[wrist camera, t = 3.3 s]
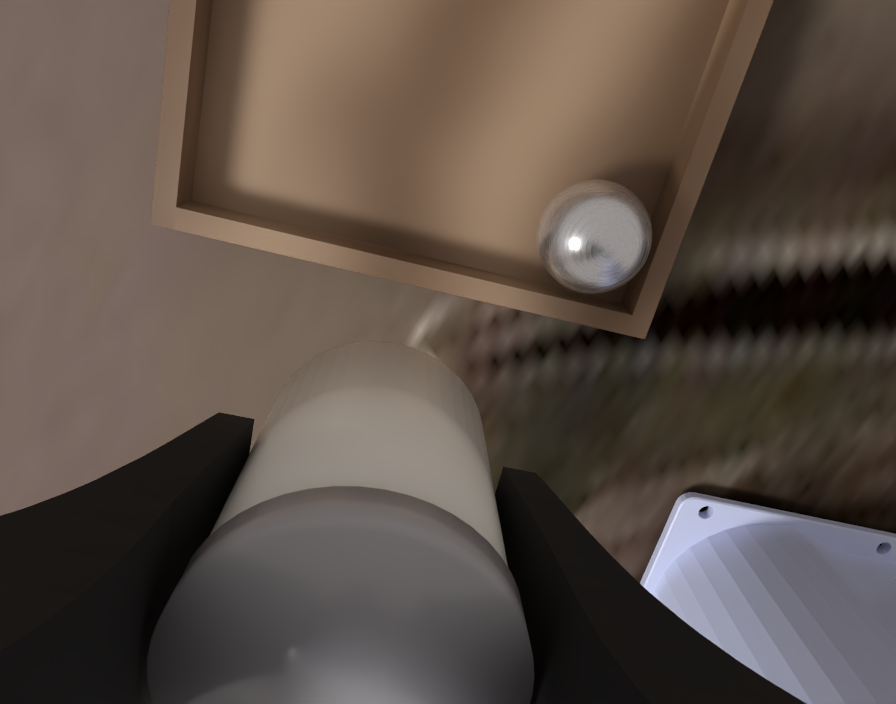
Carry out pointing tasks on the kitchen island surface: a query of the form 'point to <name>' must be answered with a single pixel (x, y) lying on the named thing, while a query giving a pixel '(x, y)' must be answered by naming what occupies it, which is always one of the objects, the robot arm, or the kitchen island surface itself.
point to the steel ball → (594, 236)
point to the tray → (446, 132)
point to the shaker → (353, 553)
